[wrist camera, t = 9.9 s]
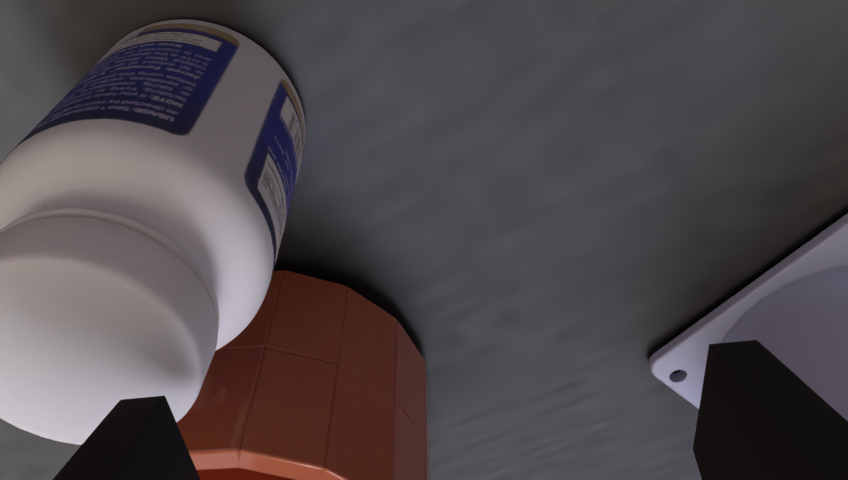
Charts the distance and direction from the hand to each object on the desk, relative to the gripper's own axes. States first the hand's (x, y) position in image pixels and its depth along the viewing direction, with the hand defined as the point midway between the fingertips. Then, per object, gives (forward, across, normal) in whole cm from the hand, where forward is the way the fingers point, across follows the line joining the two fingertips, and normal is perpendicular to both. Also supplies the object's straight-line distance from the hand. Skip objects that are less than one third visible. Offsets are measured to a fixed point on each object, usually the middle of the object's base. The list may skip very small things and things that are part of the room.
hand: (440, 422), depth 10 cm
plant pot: (+10, +5, +9) cm, 15 cm away
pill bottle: (+11, +6, 0) cm, 12 cm away
